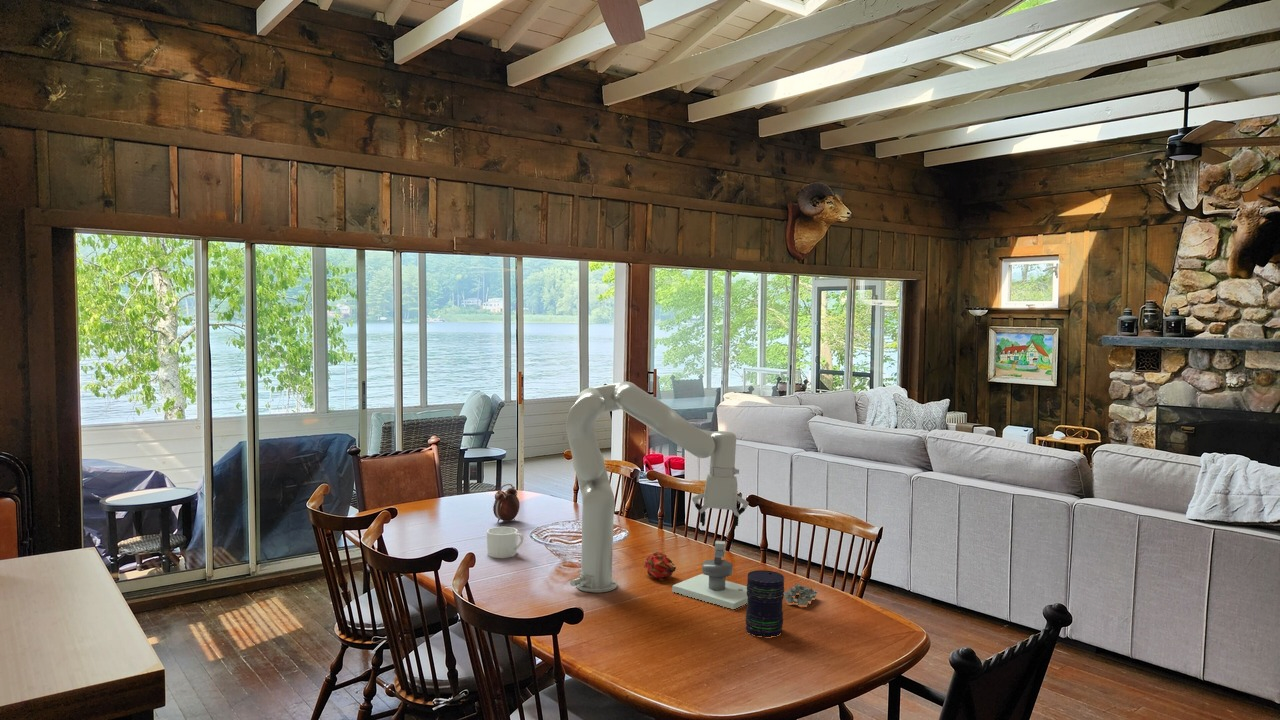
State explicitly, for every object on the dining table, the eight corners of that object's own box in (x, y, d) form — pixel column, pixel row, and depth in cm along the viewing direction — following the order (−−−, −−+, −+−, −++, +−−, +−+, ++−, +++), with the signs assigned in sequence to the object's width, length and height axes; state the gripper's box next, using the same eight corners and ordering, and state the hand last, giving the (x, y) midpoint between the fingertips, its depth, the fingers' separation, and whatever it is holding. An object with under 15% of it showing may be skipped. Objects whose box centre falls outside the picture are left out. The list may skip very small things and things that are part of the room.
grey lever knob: (731, 578, 237) (732, 556, 236) (700, 575, 238) (701, 554, 238) (734, 562, 252) (735, 542, 251) (705, 560, 253) (706, 540, 253)
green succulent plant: (804, 610, 232) (805, 596, 232) (780, 604, 236) (781, 590, 236) (819, 600, 241) (820, 586, 240) (796, 594, 245) (796, 581, 245)
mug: (480, 556, 274) (480, 532, 274) (497, 547, 284) (497, 525, 283) (514, 561, 269) (515, 537, 269) (530, 553, 279) (531, 530, 278)
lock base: (733, 610, 230) (734, 588, 229) (672, 591, 244) (672, 570, 243) (761, 597, 241) (762, 575, 241) (701, 580, 255) (701, 559, 255)
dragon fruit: (648, 575, 263) (671, 592, 253) (633, 565, 258) (655, 581, 248) (663, 553, 264) (686, 568, 255) (648, 542, 259) (671, 557, 250)
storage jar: (773, 641, 208) (775, 584, 208) (739, 632, 214) (740, 577, 213) (788, 629, 217) (790, 574, 216) (754, 621, 222) (756, 567, 221)
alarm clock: (511, 518, 324) (512, 481, 323) (520, 520, 321) (520, 483, 321) (491, 523, 315) (492, 485, 315) (500, 525, 313) (501, 487, 312)
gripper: (750, 472, 251) (747, 526, 252) (695, 467, 254) (692, 521, 255) (749, 476, 244) (746, 532, 245) (692, 471, 247) (689, 527, 248)
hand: (718, 526), depth 250 cm, fingers open, 9 cm apart
